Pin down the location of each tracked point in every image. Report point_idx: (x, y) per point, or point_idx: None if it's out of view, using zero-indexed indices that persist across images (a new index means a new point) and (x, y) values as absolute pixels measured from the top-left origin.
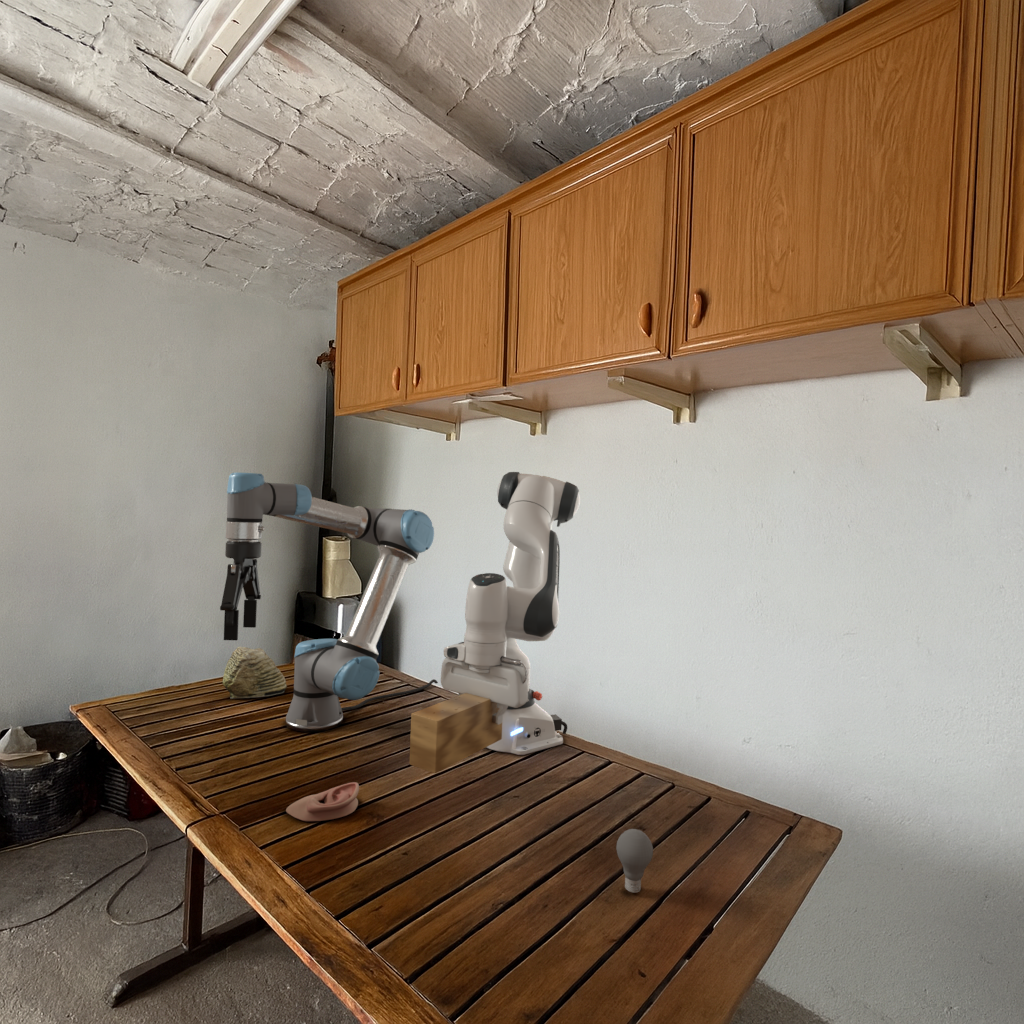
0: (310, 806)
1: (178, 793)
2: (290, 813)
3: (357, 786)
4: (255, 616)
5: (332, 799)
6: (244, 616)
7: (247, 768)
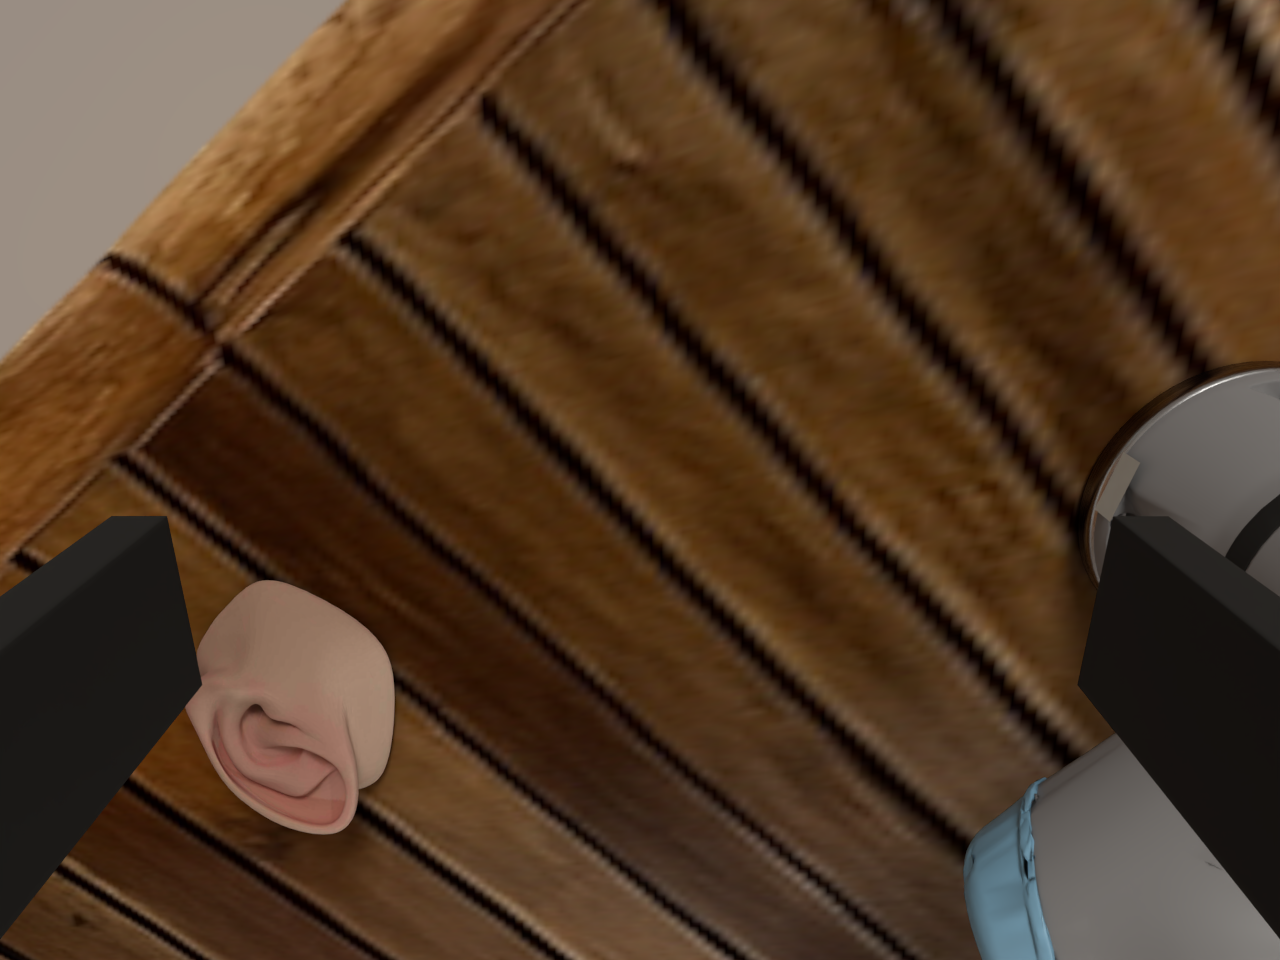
0: None
1: (374, 93)
2: (230, 603)
3: (314, 832)
4: (1190, 811)
5: (272, 745)
6: (1228, 628)
7: (651, 326)
